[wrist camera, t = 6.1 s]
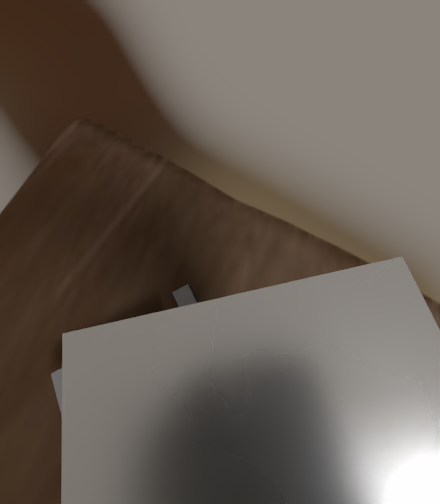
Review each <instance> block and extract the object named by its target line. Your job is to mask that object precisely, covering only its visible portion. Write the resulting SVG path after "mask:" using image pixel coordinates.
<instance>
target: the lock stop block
mask: <svg viewBox="0 0 440 504" xmlns="http://www.w3.org/2000/svg"><path fill="white" fill-rule="evenodd" d="M61 504H440V330H439V328H438V326H437V324H436V322H435V320H434V318H433V316H432V314H431V312H430V310H429V308H428V306H427V304H426V302H425V300H424V298H423V296H422V294H421V292H420V290H419V288H418V286H417V284H416V282H415V280H414V278H413V276H412V274H411V273H410V270H409V268H408V267H407V265H406V263H405V261H404V259H403V257H398V258H394V259H389V260H385V261H381V262H377V263H372V264H367V265H363V266H358V267H354V268H350V269H345V270H341V271H336V272H332V273H328V274H323V275H319V276H314V277H310V278H306V279H301V280H297V281H292V282H288V283H284V284H279V285H275V286H270V287H266V288H261V289H257V290H253V291H248V292H244V293H239V294H235V295H231V296H226V297H222V298H217V299H213V300H209V301H204V302H200V303H195V304H191V305H187V306H182V307H178V308H173V309H169V310H164V311H160V312H156V313H151V314H147V315H142V316H138V317H134V318H129V319H125V320H120V321H116V322H112V323H107V324H103V325H98V326H94V327H90V328H85V329H81V330H76V331H72V332H68V333H63V334H62V489H61Z"/></svg>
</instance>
